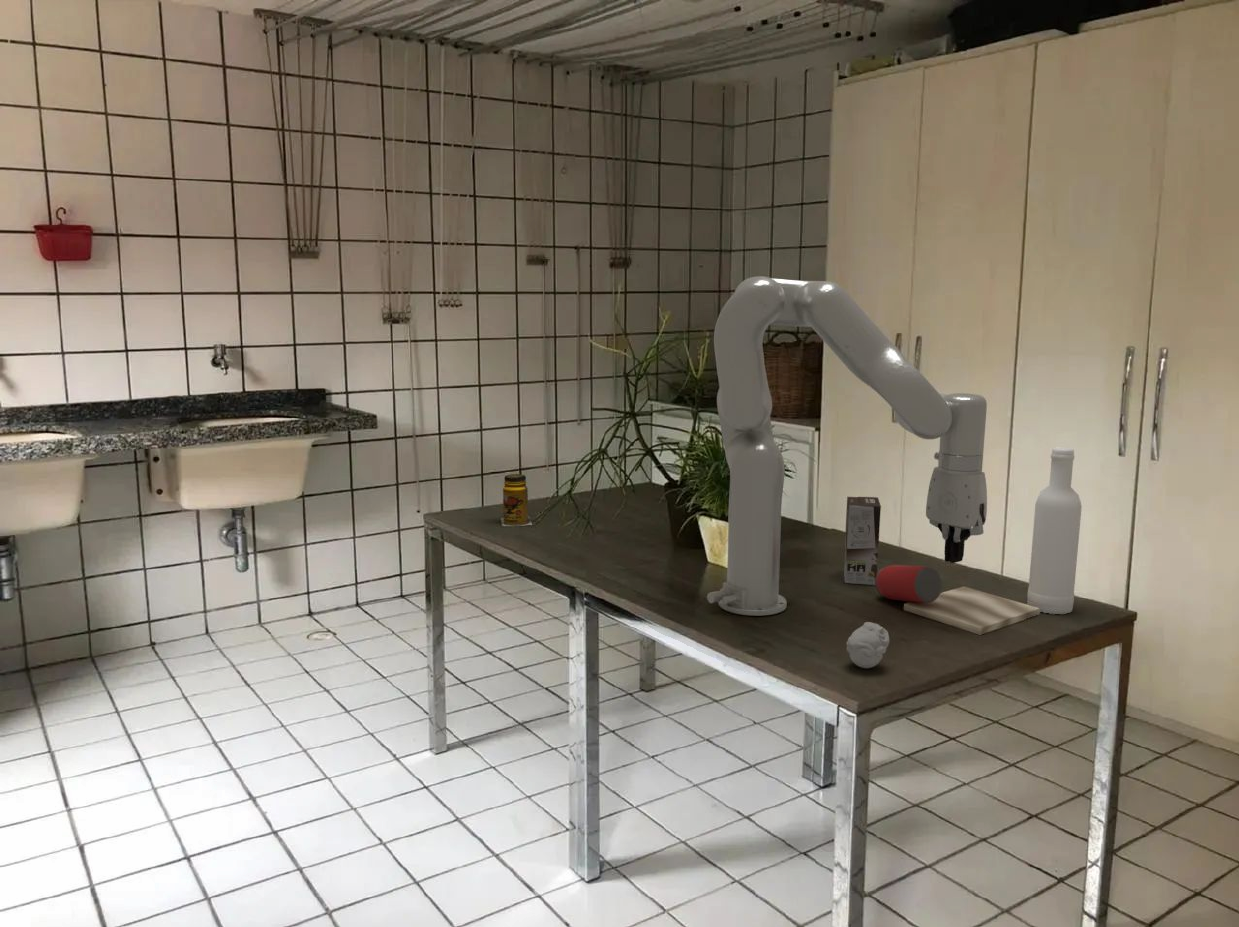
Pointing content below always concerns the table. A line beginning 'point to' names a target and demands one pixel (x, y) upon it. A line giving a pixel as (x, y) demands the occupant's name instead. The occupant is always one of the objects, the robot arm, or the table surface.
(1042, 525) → the bottle
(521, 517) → the condiment
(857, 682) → the table surface
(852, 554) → the coffee box
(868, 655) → the frog figurine
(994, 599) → the birch board
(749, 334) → the robot arm
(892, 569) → the beer can
